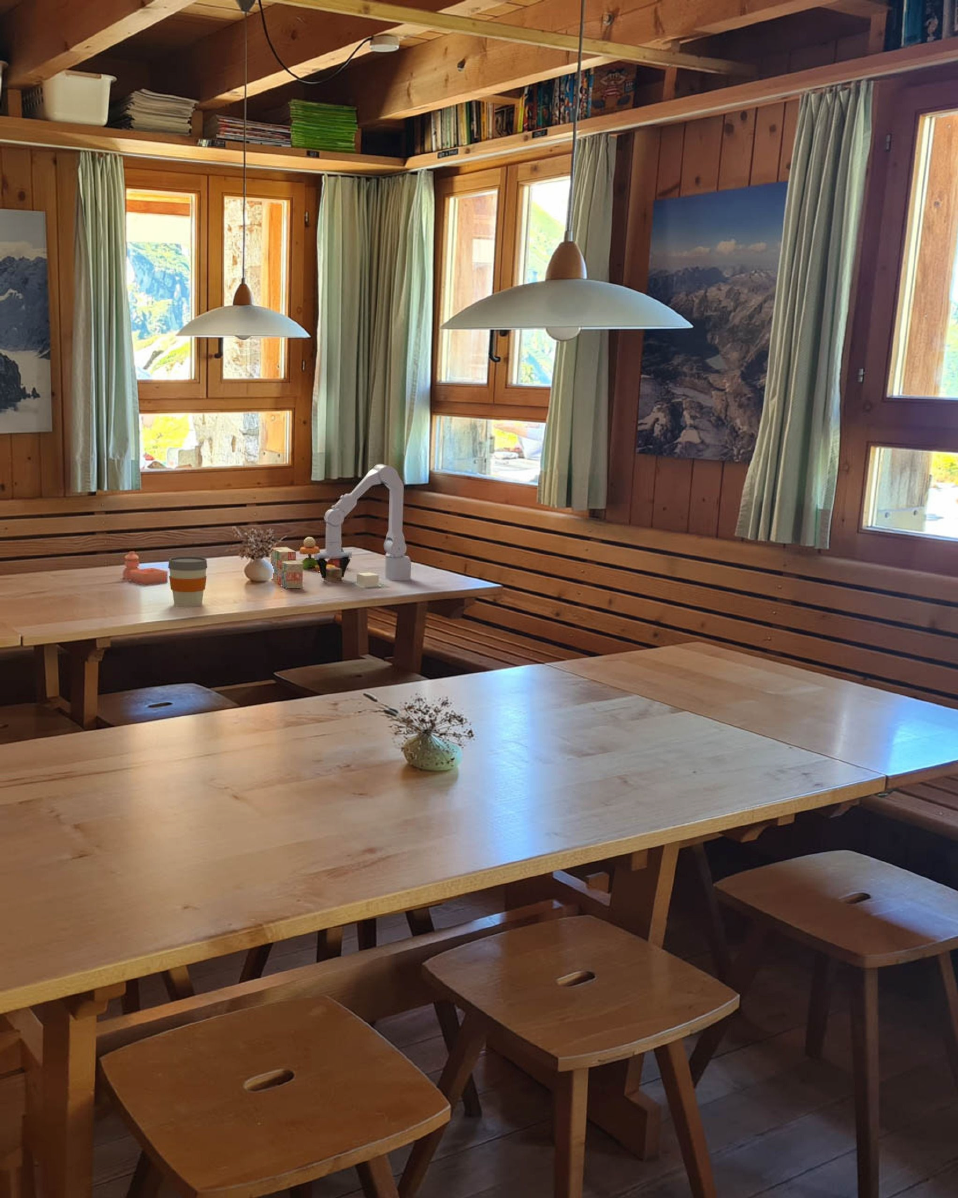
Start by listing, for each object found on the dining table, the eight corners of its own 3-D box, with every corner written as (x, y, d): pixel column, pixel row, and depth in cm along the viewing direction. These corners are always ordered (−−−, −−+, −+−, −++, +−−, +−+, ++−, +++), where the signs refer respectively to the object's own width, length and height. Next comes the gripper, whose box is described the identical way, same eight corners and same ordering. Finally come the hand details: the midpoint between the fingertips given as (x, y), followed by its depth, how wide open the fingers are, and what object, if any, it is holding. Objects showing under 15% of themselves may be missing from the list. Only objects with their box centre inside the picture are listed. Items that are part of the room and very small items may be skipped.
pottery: (167, 582, 428) (167, 555, 427) (145, 585, 421) (145, 558, 419) (138, 575, 440) (137, 549, 438) (116, 578, 432) (115, 551, 431)
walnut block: (335, 580, 446) (336, 567, 445) (341, 582, 442) (341, 569, 441) (323, 580, 444) (323, 567, 443) (329, 583, 440) (329, 569, 439)
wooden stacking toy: (319, 574, 458) (319, 542, 456) (295, 567, 471) (295, 536, 468) (357, 570, 470) (358, 539, 467) (333, 564, 483) (333, 533, 480)
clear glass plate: (373, 581, 445) (373, 580, 445) (390, 588, 434) (390, 586, 434) (344, 583, 439) (344, 582, 439) (361, 590, 428) (361, 589, 427)
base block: (371, 583, 440) (371, 572, 440) (378, 585, 436) (378, 575, 435) (356, 583, 437) (356, 573, 437) (364, 586, 432) (364, 575, 432)
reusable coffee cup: (212, 606, 389) (212, 561, 386) (174, 608, 383) (174, 563, 380) (201, 599, 400) (200, 555, 397) (164, 601, 394) (163, 557, 391)
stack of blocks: (302, 588, 426) (303, 555, 424) (286, 589, 424) (286, 555, 421) (286, 578, 445) (286, 546, 443) (270, 579, 443) (270, 546, 440)
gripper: (346, 539, 447) (345, 574, 450) (310, 540, 440) (310, 576, 442) (354, 541, 441) (353, 577, 444) (318, 543, 434) (318, 580, 436)
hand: (332, 577), depth 443 cm, fingers open, 7 cm apart
